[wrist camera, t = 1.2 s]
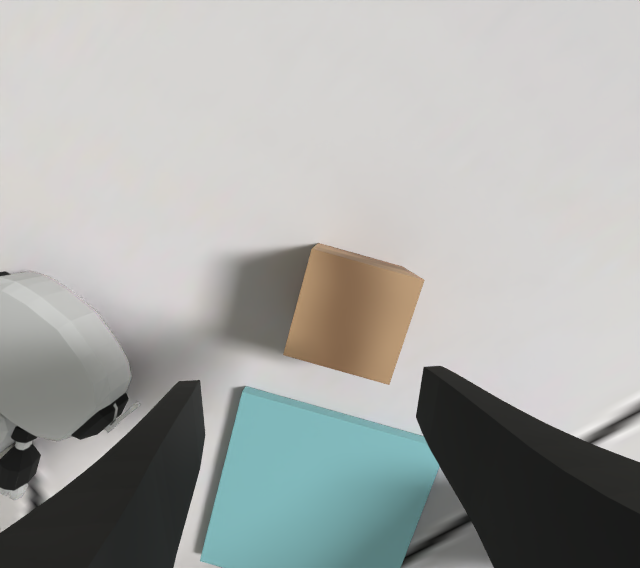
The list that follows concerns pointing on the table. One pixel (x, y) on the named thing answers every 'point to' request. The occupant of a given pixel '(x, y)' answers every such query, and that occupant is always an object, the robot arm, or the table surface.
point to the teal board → (316, 489)
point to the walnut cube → (352, 313)
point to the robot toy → (53, 373)
